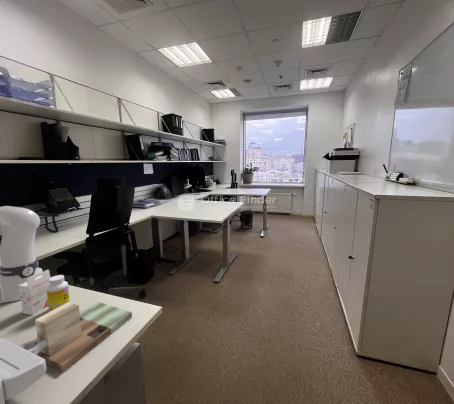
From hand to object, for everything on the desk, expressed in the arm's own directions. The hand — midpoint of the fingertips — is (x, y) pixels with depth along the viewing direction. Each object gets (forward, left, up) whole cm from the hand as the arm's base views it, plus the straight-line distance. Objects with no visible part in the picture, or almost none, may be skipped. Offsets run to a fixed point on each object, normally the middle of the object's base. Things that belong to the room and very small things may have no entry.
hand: (44, 340), depth 60 cm
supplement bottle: (-23, +17, -7) cm, 29 cm away
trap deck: (-1, +12, -6) cm, 14 cm away
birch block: (-1, +5, -4) cm, 6 cm away
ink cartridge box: (-31, +14, -7) cm, 35 cm away
